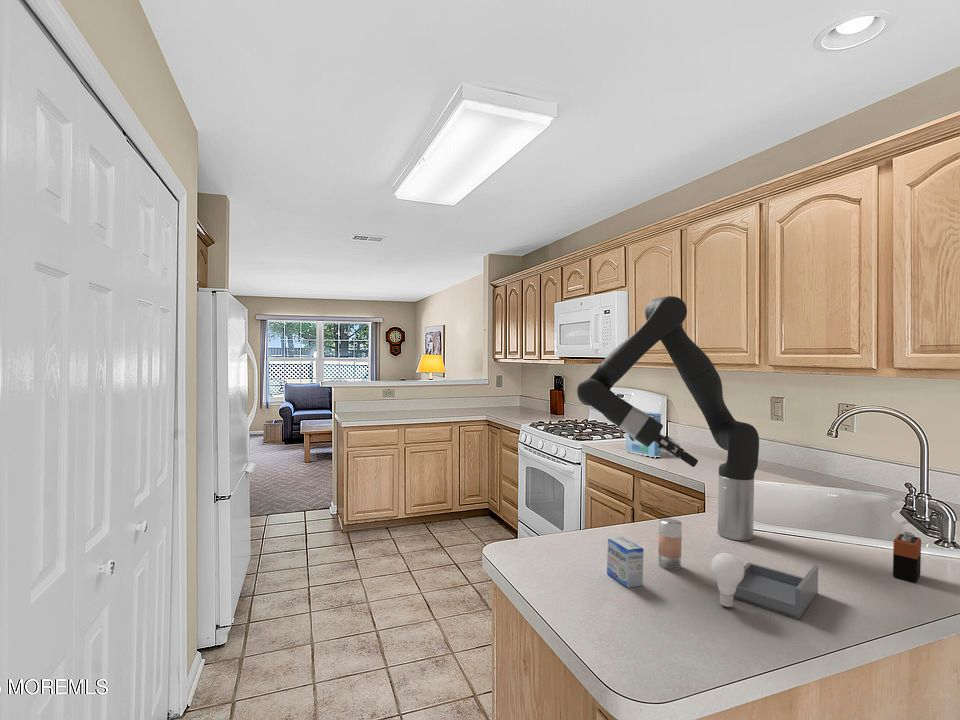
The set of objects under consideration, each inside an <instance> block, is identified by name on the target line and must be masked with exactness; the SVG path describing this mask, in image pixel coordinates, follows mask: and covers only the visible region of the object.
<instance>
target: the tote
mask: <svg viewBox="0 0 960 720" xmlns="http://www.w3.org/2000/svg"><path fill="white" fill-rule="evenodd" d="M743 566H744V571H745V573H744V578H743V580H742V581H741V582H740V583H739V585H738V586H737V588H736V592H735V593H734V599H735V598H736V599H735V600H738V599H739V601H741V600H742V601H741V602H744V601H745V602H744V603H747V604H750V605H753V606H756V607H759V608H762V609H766V610H768V611H771V612H774V613H777V614H781V615H783V616H787V617H789V618H793V619H796V620H798V621H799V620H801V619H802V618H803V615H805V613H806V611H807V610H808V608H809V607H810V606H811V604H812V602H813V601H814V600H815V598H816V597H817V595H818V592H819V566H818V565H815V564H814V565H813V566H812V567H811V569H809V571H808V572H807V573H806V574H805V576H804V577H803V576H799V575H795V574H791V573H789V572H784V571H780V570H779V569H773V568H770V567H768V566H763V565H760V564H757V563H753V562H748V563H746V564H745V565H743Z"/></svg>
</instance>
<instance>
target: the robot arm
mask: <svg viewBox="0 0 960 720" xmlns="http://www.w3.org/2000/svg"><path fill="white" fill-rule="evenodd" d="M687 312H688V308H687V305H686V303H685V301H684V300H683V299H681V297H678V296H672V295H669V296H662V297H657V298H654V299H652V300H651V301H648V303H647V305H646V307H645V310H644V315H645V319H646V320H645V321H646V322H645V323H643V325H642V326H641V327H640V328H639V329H637V330H636V332H634V333H633V334H632V335H631V336H629V337H628V338H626V339H625V340H624V341H622V342H621V343H620V344H619V345H617V346H616V347H614V349H613V350H612V351H611V352H610V353H609V354H608V355H607V356H606V357H605V358H604V359H603V360H602V361H601V362H600V363H599V364H598V366H597V368H596V370H595V371H594V372H593V373H592V374H591V375H590V377H589V378H585V379H583V380H581V381H580V382H579V384H578V386H577V390H576V392H577V397H578V399H579V402H581V403H582V404H583V405H584V406H589V407H592V408H594V409H595V410H597V411H598V412H600V413H601V414H602V415H603V416H604V417H605V418H606V419H607V420H608V421H609V422H611V423H612V424H614V425H615V426H617V427H619V429H621V430H622V431H623V432H624V433H625V434H626V435H627V434H628V435H630V436H631V437H633V438H634V439H636V440H637V441H638V442H640V443H641V444H643V445H644V446H646V447H649V446H650V445H651V444H652V442H654V441H655V442H657V443H658V447H659V448H660V449H661V450H662V451H664V452H666V453H668V455H670V456H672V457H673V456H675V458H677V459H680V460H681V461H683V462H685V463H686V464H687V465H689V466H691V467H692V468H694V467H695V466H697V464H698V463H699V460H698V459H697V458H695V457H694V456H693V455H691V454H690V453H688V452H687V451H686V450H685V449H684V448H682V447H681V445H680V444H679V443H677V442H676V441H675V440H673V438H671V437H670V436H669V435H667V434H665V436H664V435H663V434H661V435H660V431H661V432H662V430H663V427H664V425H663V424H662V422H661V423H660V422H658V421H657V420H655V419H653V418H652V417H650V416H649V415H647V414H646V413H644V412H645V411H643V410H641V409H640V408H637V407H635V406H634V405H633V404H630V403H629V402H627V401H626V400H625V399H623V398H621V397H619V396H617V394H616V393H614V392H613V391H612V390H611V389H612V387H614V385H615V384H617V383H618V381H620V380H621V379H622V377H624V376H625V375H626V374H627V373H628V372H629V371H630V370H631V368H632V367H634V365H636V364H637V362H638V361H639V360H640V359H641V358H643V356H644V355H645V354H646V353H647V352H648V351H650V349H651V348H653V347H654V346H655V345H657V343H658V342H659V341H660V342H661V343H662V345H663V346H664V349H666V351H667V353H668V355H669V357H670V359H671V360H672V362H673V364H674V366H675V368H676V370H677V372H678V373H679V376H680V377H681V379H682V381H683V382H684V384H685V387H687V390H688V392H690V394H691V396H692V398H693V399H694V401H695V403H696V404H697V407H698V408H699V409H700V411H701V412H702V415H703V417H704V419H705V421H706V424H707V425H708V428H709V431H710V433H711V435H712V437H713V439H714V442H715V443H716V445H718V447H719V448H721V449H723V450H724V451H727V458H726V459H727V460H726V462H725V463H721V464H720V465H719V467H718V494H717V496H718V497H717V498H718V499H717V534H718V535H719V536H721V537H724V538H726V539H730V540H734V541H735V540H736V541H745V542H747V541H751V540H753V538H754V513H755V512H754V509H755V508H754V507H755V505H754V504H755V473H756V471H757V470H758V469H757V468H758V464H759V455H760V454H759V453H760V437H759V433H758V431H757V429H756V428H755V427H754V426H753V425H752V424H751V423H747V422H742V421H738V420H736V419H735V418H734V417H733V415H732V413H731V412H730V410H729V409H728V407H727V405H726V403H725V400H724V395H723V394H724V393H723V384H722V379H721V377H720V374H719V372H718V371H717V369H716V368H715V366H714V364H713V362H712V360H711V359H710V358H709V356H708V355H707V354H706V353H705V352H704V351H703V350H702V349H701V348H700V346H698V345H697V344H696V343H695V342H694V341H693V340H692V339H691V338H690V337H689V336H688V334H687V333H686V331H685V330H684V328H683V326H682V324H683V323H684V321H685V319H686V317H687V315H688V313H687Z"/></svg>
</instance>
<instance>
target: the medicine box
mask: <svg viewBox="0 0 960 720" xmlns="http://www.w3.org/2000/svg"><path fill="white" fill-rule="evenodd" d="M644 551H645V550H644V548H643V547H642V546H640V545H638V544H636V543H634V542H632V541H631V540H629V539H627V538H626V537H624V536H613V537H608V538H607V554H606V555H607V561H606V564H607V565H606V574H607V575H608V576H609V577H611V578H613V579H614V580H615V581H616V582H618V583H620V585H623V586H624V587H626V588H627V589H630V588H636V587H635V586H637V587H641V586H640V585H642V586H643V585H644V584H643V583H644V555H645V553H644Z"/></svg>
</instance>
